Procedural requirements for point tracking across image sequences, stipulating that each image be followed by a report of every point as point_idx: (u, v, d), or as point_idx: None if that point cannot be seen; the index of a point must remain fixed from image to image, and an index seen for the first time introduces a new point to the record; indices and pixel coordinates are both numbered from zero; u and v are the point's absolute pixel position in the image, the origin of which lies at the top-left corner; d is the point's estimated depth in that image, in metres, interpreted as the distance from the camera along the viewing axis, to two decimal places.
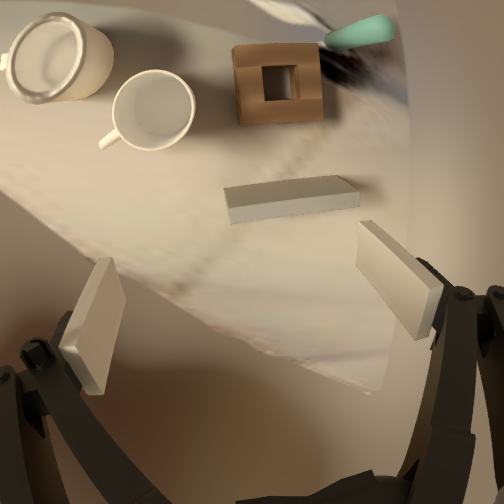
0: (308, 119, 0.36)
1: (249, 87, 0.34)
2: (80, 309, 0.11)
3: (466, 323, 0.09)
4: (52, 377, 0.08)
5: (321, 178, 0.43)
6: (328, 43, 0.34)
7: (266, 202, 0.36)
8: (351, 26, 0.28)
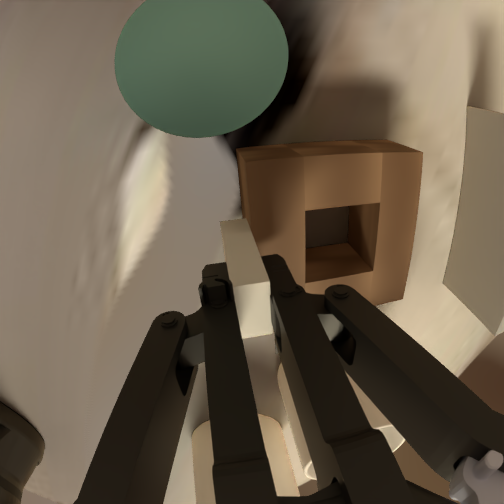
0: (417, 185, 0.16)
1: None
2: (233, 258, 0.14)
3: (306, 320, 0.10)
4: (222, 319, 0.11)
5: (474, 139, 0.19)
6: None
7: None
8: None
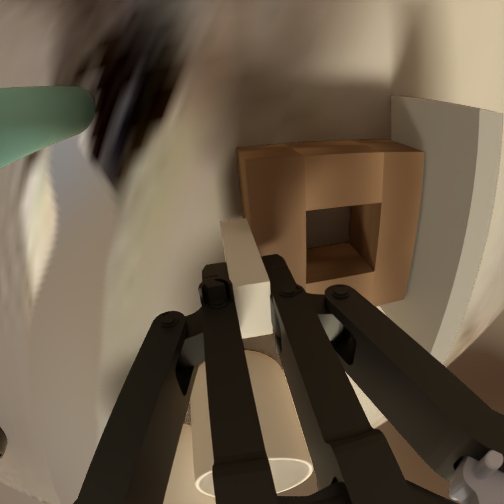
0: (419, 185, 0.16)
1: None
2: (233, 258, 0.14)
3: (306, 320, 0.10)
4: (222, 319, 0.11)
5: (398, 134, 0.18)
6: (75, 134, 0.15)
7: (442, 318, 0.16)
8: None
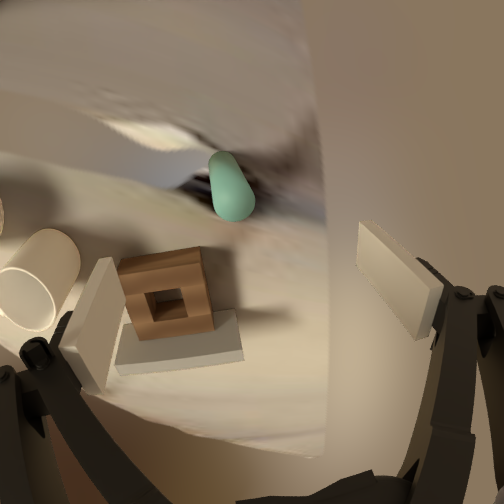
0: (198, 331, 0.39)
1: (137, 312, 0.37)
2: (80, 309, 0.11)
3: (466, 323, 0.09)
4: (52, 377, 0.08)
5: (217, 315, 0.42)
6: None
7: (146, 362, 0.36)
8: (212, 178, 0.27)
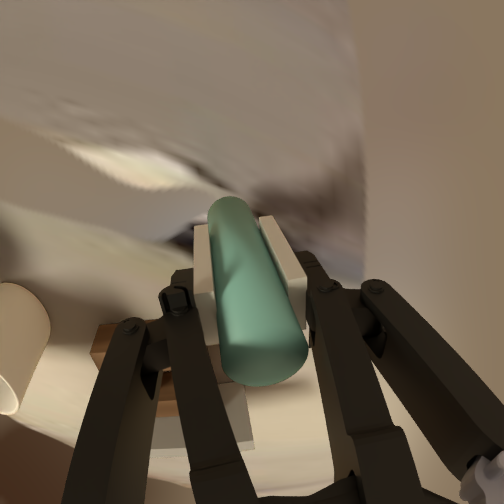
0: None
1: None
2: (200, 264, 0.14)
3: (341, 316, 0.10)
4: (185, 325, 0.10)
5: (221, 390, 0.33)
6: None
7: None
8: (215, 272, 0.14)
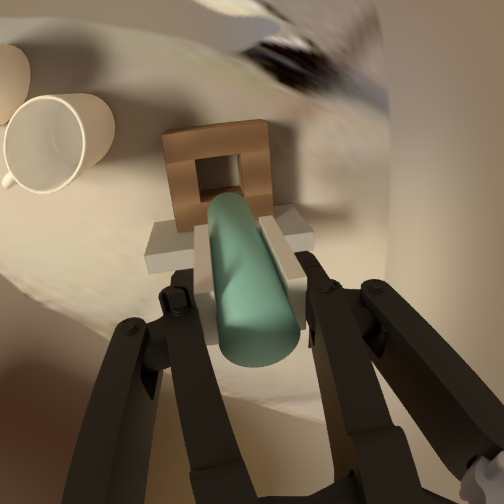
0: None
1: (181, 187, 0.30)
2: (200, 264, 0.14)
3: (341, 316, 0.10)
4: (185, 326, 0.10)
5: None
6: None
7: (189, 249, 0.29)
8: (214, 262, 0.15)
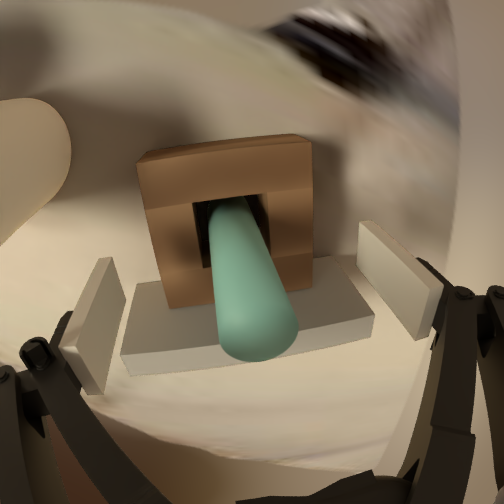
0: None
1: (172, 246, 0.19)
2: (80, 309, 0.11)
3: (466, 323, 0.09)
4: (52, 377, 0.08)
5: None
6: None
7: (187, 347, 0.18)
8: (214, 258, 0.15)
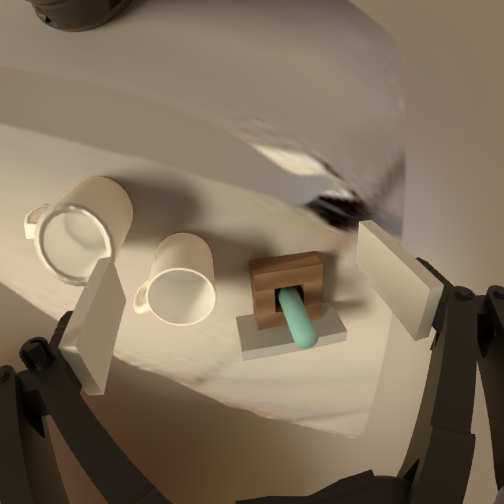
0: None
1: (264, 305, 0.47)
2: (80, 309, 0.11)
3: (466, 323, 0.09)
4: (52, 377, 0.08)
5: None
6: None
7: (271, 346, 0.45)
8: (287, 314, 0.43)
